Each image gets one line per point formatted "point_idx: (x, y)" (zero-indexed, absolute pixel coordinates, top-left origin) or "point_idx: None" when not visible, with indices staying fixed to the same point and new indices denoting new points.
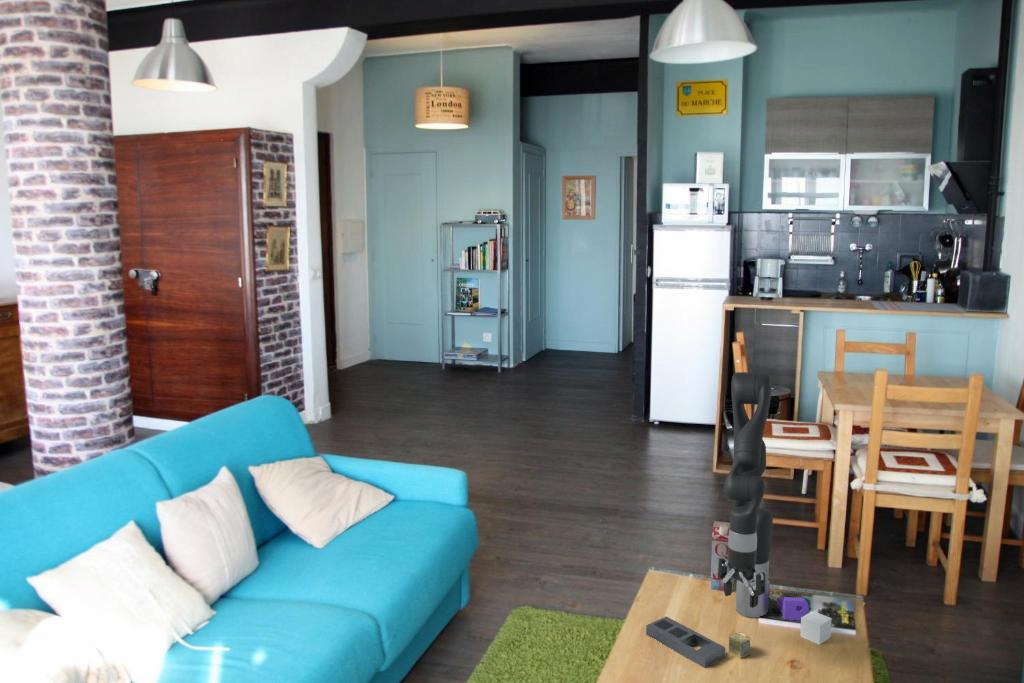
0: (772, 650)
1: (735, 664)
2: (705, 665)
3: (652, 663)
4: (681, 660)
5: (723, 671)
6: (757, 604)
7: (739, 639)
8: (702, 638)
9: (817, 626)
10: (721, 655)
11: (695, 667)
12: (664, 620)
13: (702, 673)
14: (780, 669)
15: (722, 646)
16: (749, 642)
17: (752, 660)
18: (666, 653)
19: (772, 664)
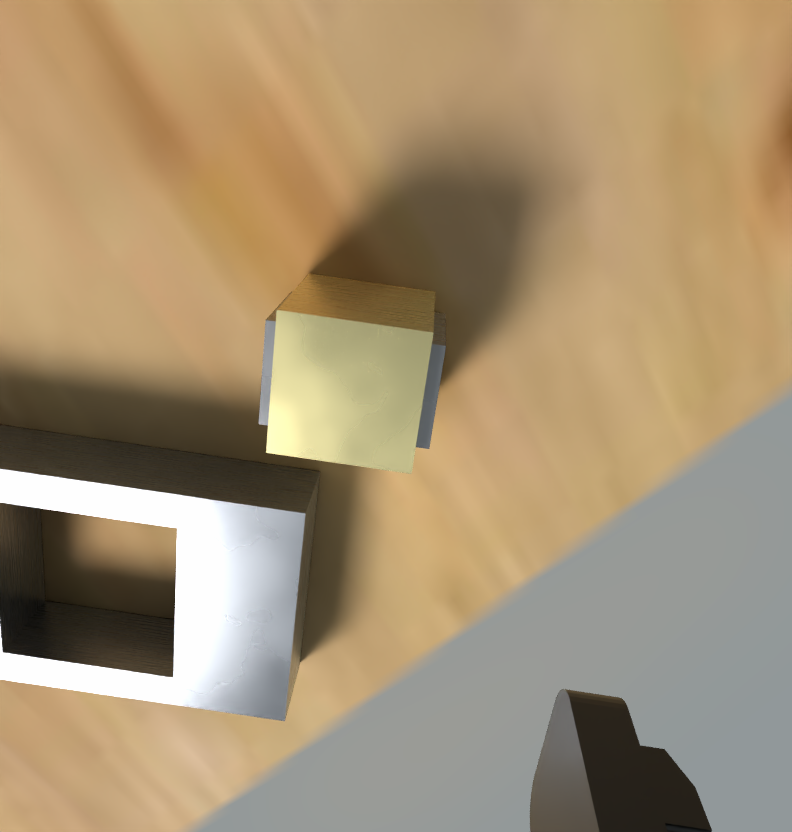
0: (568, 83)
1: (430, 499)
2: (297, 669)
3: (48, 799)
4: None
5: (415, 621)
6: (675, 773)
7: (372, 439)
8: (80, 512)
9: None
10: (311, 528)
11: None
12: None
13: (327, 715)
14: (752, 331)
15: (277, 514)
16: (444, 353)
17: (504, 366)
18: None
19: (665, 308)
